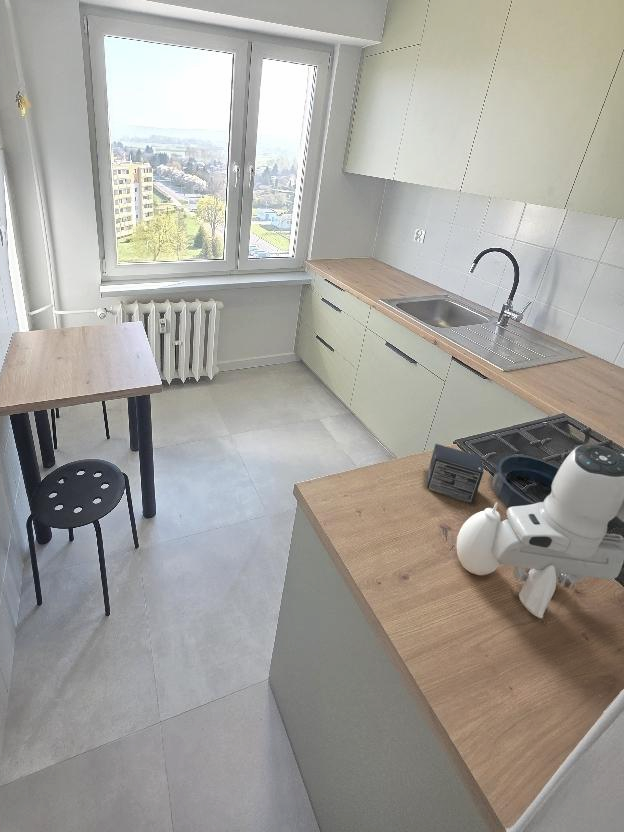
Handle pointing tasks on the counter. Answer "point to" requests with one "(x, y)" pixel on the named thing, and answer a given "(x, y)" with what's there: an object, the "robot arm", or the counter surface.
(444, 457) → the small box
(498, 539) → the robot arm
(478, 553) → the white bulb air blower
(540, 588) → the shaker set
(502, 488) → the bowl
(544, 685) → the counter surface
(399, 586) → the counter surface
